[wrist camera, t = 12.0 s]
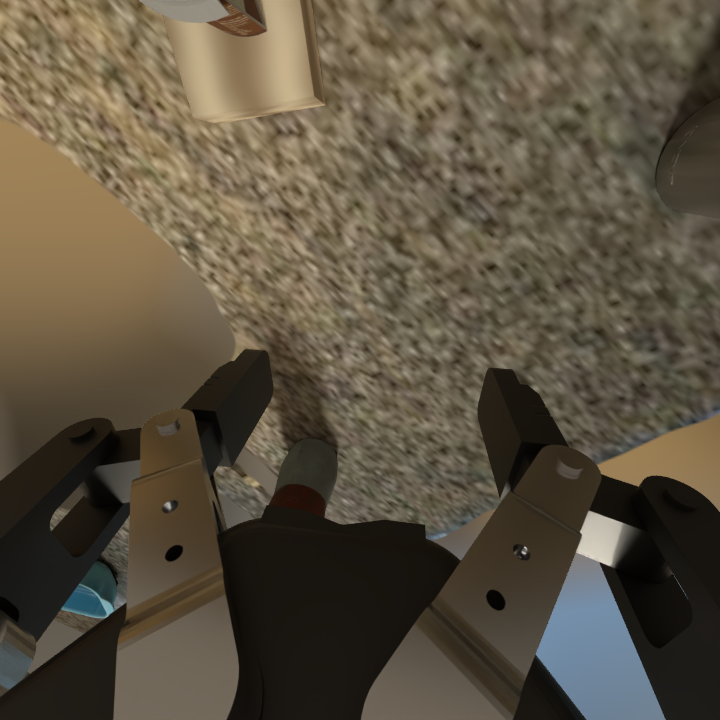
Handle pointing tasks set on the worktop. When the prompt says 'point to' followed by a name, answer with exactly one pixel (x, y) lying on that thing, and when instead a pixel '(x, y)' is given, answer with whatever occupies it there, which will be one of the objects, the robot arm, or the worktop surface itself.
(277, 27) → the maple block
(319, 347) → the worktop surface
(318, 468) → the bottle
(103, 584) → the casserole dish
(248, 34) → the food container
